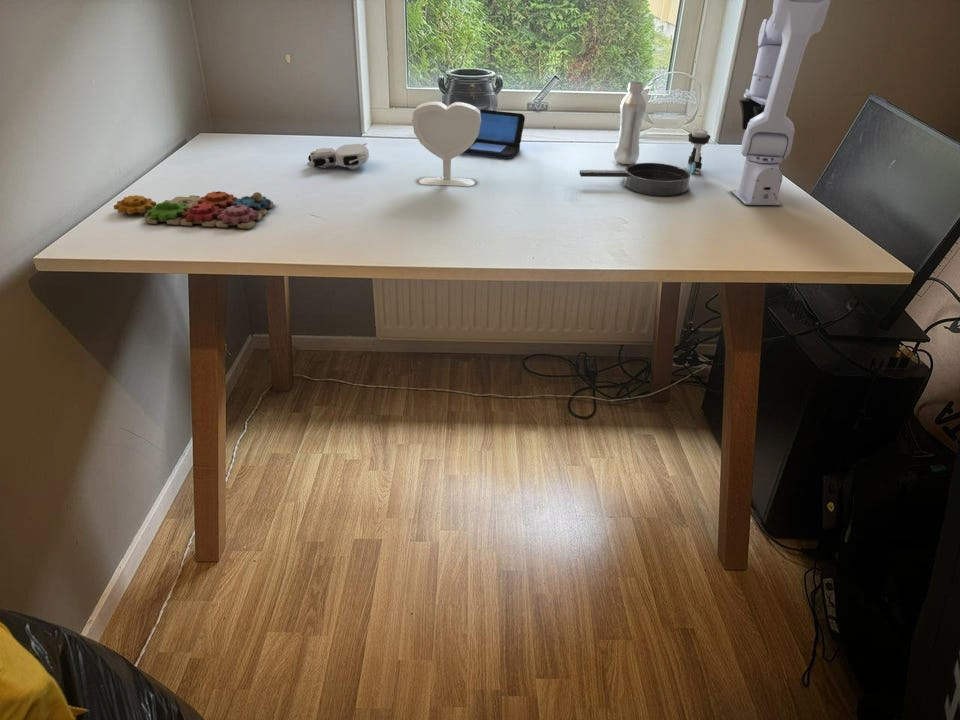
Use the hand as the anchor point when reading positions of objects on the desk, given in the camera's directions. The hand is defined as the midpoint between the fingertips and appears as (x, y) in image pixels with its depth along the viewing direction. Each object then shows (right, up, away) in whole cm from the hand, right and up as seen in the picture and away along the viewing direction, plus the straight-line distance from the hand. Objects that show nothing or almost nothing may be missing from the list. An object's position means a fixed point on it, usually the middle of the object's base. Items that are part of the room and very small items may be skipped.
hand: (752, 133), depth 174 cm
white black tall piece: (-14, -9, +3) cm, 17 cm away
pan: (-27, -16, -8) cm, 32 cm away
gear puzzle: (-129, -27, -30) cm, 135 cm away
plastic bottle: (-30, -6, +8) cm, 32 cm away
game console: (-66, 0, +15) cm, 68 cm away
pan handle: (-40, -13, -10) cm, 43 cm away
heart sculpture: (-77, -15, -9) cm, 79 cm away
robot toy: (-104, -9, 0) cm, 104 cm away
